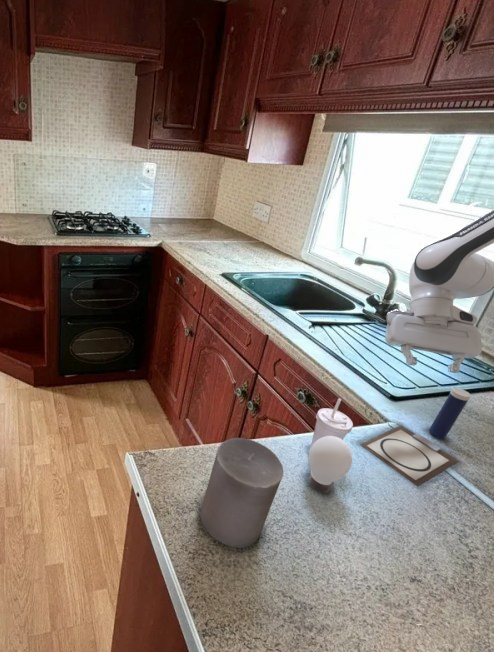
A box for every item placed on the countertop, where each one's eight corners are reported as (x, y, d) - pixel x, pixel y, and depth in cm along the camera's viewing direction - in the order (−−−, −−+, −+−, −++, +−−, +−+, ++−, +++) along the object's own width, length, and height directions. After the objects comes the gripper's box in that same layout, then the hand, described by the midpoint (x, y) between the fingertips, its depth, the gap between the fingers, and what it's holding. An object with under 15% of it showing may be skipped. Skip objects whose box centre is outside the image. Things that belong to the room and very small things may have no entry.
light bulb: (344, 501, 72) (367, 455, 67) (308, 500, 71) (329, 453, 67) (325, 471, 78) (345, 427, 73) (292, 470, 77) (310, 426, 73)
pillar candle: (238, 492, 71) (260, 427, 65) (272, 543, 63) (301, 473, 56) (189, 502, 68) (206, 435, 62) (218, 557, 60) (241, 485, 53)
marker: (447, 438, 91) (474, 394, 85) (439, 442, 89) (466, 398, 84) (431, 429, 93) (456, 386, 88) (424, 432, 92) (449, 389, 86)
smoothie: (304, 439, 86) (326, 386, 79) (337, 453, 83) (362, 398, 77) (300, 458, 81) (322, 402, 74) (334, 473, 78) (361, 416, 72)
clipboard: (457, 463, 84) (460, 459, 84) (416, 488, 77) (419, 484, 76) (400, 426, 93) (401, 423, 93) (358, 445, 86) (360, 441, 85)
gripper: (393, 303, 100) (393, 357, 95) (484, 318, 97) (489, 373, 93) (380, 312, 106) (379, 363, 101) (465, 326, 103) (468, 379, 99)
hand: (432, 368), depth 97 cm, fingers open, 8 cm apart
